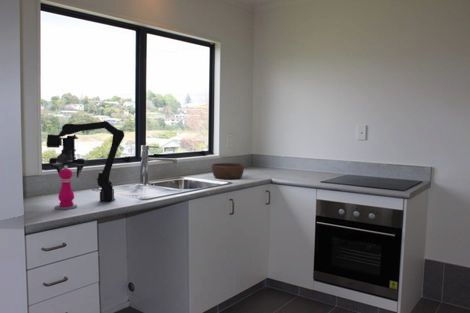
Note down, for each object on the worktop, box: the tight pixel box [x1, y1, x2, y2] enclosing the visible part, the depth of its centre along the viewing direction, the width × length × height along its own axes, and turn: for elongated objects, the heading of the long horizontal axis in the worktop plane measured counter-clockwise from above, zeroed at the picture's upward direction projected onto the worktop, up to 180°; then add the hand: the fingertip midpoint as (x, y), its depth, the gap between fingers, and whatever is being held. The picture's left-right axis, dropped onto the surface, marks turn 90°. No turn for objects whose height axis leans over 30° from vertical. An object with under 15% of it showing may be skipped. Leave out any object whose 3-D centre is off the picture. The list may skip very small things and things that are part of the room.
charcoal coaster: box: [54, 203, 78, 211], centre depth 202 cm, size 10×10×1 cm
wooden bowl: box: [211, 162, 245, 180], centre depth 315 cm, size 25×25×10 cm
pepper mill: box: [57, 165, 75, 207], centre depth 201 cm, size 7×7×20 cm
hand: (69, 177), depth 215 cm, fingers open, 9 cm apart
